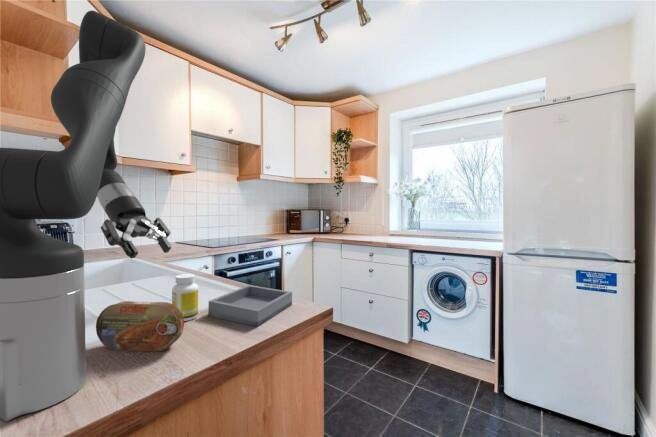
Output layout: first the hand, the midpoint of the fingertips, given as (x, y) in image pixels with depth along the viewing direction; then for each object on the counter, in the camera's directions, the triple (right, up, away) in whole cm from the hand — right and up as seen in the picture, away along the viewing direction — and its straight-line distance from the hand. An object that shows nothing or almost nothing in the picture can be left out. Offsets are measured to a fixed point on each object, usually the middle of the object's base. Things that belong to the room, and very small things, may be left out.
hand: (152, 253), depth 69 cm
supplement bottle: (+10, -15, -3) cm, 18 cm away
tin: (+8, -15, -17) cm, 24 cm away
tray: (+24, -15, +2) cm, 28 cm away
